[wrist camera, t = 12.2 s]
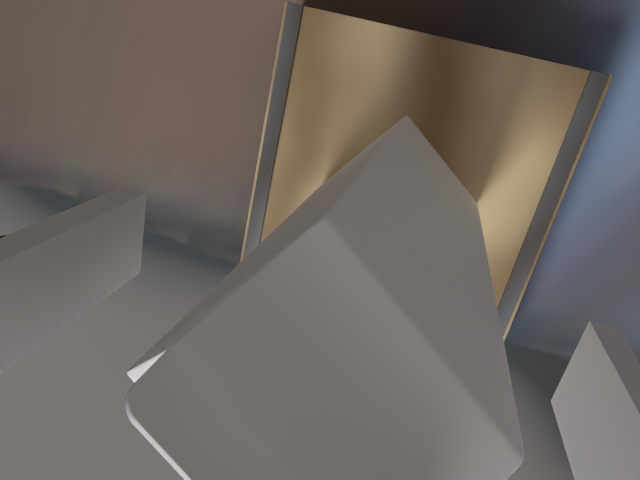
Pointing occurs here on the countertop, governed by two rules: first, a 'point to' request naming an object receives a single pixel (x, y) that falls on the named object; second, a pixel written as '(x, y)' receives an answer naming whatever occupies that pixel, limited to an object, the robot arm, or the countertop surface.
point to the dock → (425, 127)
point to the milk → (345, 341)
